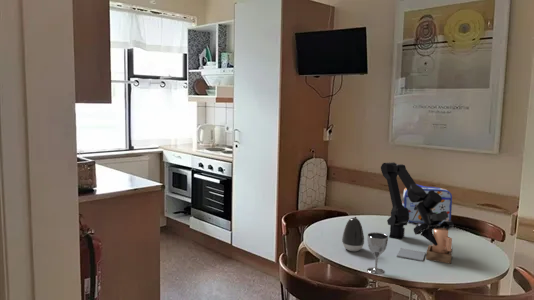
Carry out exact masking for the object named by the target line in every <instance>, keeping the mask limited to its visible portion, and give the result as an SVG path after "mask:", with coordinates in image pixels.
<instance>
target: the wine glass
mask: <svg viewBox="0 0 534 300" xmlns="http://www.w3.org/2000/svg"><path fill="white" fill-rule="evenodd" d="M388 240H389V235H387V234H385V233H382V232H369V233H367V246H368V249H369V251H370V252H371V254H372V255H373V256H374V260H375V261H374V262H375V265H374V267H373V266H372V267H368V268H367V269H366V270H367V271H366V272H368V273H369V274H373V275H383V274H385V273H386V271H385V270H384V268H381V267H378V262H379V261H378V260H379V258H380V256H381V255H382V254H384V252H385V251H386V249H387V246H388Z"/></svg>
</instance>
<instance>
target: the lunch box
mask: <svg viewBox="0 0 534 300" xmlns="http://www.w3.org/2000/svg"><path fill="white" fill-rule="evenodd" d="M416 184H417V183H416ZM417 185H418V186H419V187H421V188H422V189H423V190H424V191H425V192H426V193H427V194H428V192H429V191H430V190H434V192H436V193H438V194H439V195H440V196H441V198H442V201H441V202H440V203H439V204H438V205H437V206H436V207H435V208H433V209H432V211H433V212H435V213H436V214H437V213H441V212H443V211H446V212H447V214H448V218H446V220H441V223H439V224H442V223H443V222H444V221H451V219H452V208H453V207H452V206H453V195H452V193H451V192H450V191H449V190H447V189H446V188H441V187H435V186H424V185H420V184H417ZM401 200H402V205H403V206H404V207H405V208H407V209H408V213H409V220H408V223H412V224H421V223H424V222H423V221H421V220H420V219H421V215H420V213H419V211H418V210H414V207H415V205H416V204H419V203H420V202H415V203H414V202H411V201H410V199H409V197H408V195H407V188H406V187H405V188H404V189H403V193H402V198H401Z"/></svg>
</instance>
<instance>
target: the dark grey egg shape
mask: <svg viewBox="0 0 534 300" xmlns="http://www.w3.org/2000/svg"><path fill="white" fill-rule="evenodd" d="M341 243H342V245H343V247H344V249H346V250H347V251H349V252H358V251H360V250H362V248H363V247H364V245H365V234H364V229H363V226H362V223H361V221H360V220H359V219H358V218H357V216H355V217H351V218H350V219H348V221H347V222H346V224H345V227H344V229H343V234H342V237H341Z"/></svg>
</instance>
